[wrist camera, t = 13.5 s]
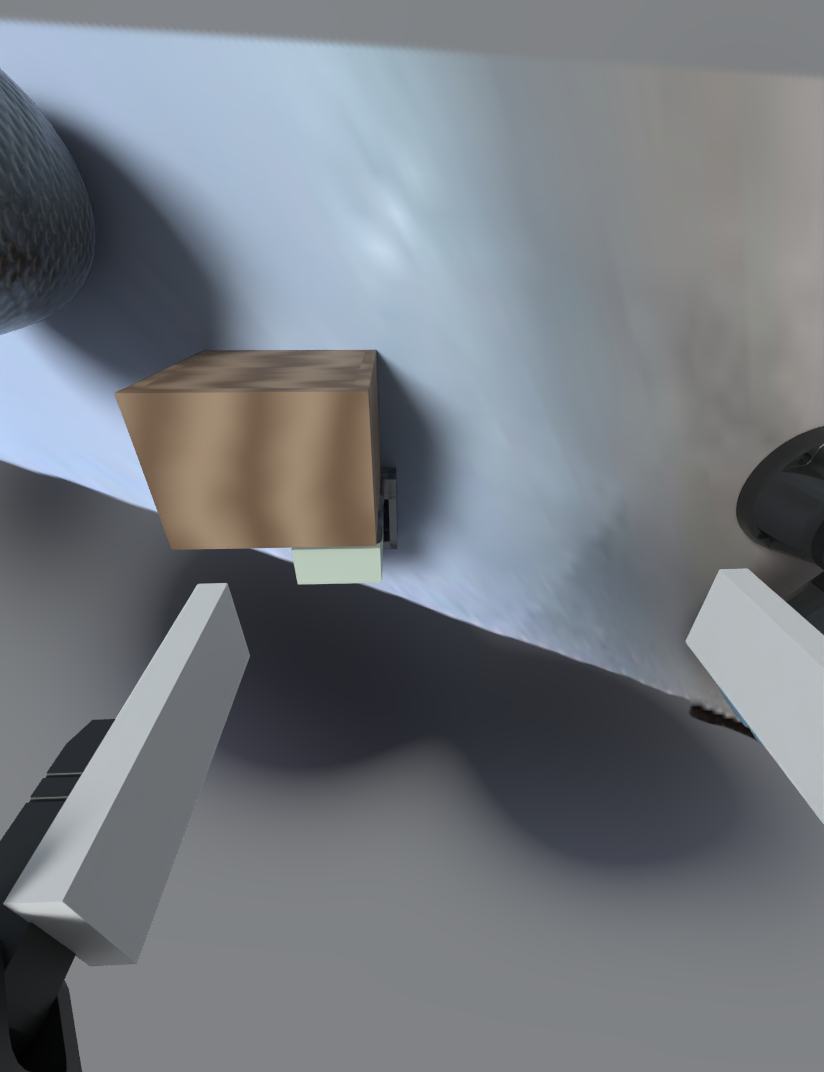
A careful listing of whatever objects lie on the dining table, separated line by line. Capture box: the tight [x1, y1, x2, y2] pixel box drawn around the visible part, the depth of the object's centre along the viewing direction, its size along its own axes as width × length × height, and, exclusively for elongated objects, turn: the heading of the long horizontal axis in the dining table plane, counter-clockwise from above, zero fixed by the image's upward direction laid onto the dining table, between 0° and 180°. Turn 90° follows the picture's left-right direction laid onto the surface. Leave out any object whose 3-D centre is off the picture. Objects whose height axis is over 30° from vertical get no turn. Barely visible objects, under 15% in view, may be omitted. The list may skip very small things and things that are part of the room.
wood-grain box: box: [114, 350, 381, 550], centre depth 37 cm, size 16×12×15 cm
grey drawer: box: [376, 468, 397, 549], centre depth 44 cm, size 11×9×12 cm
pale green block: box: [292, 512, 384, 584], centre depth 45 cm, size 8×5×11 cm, turn 90°
